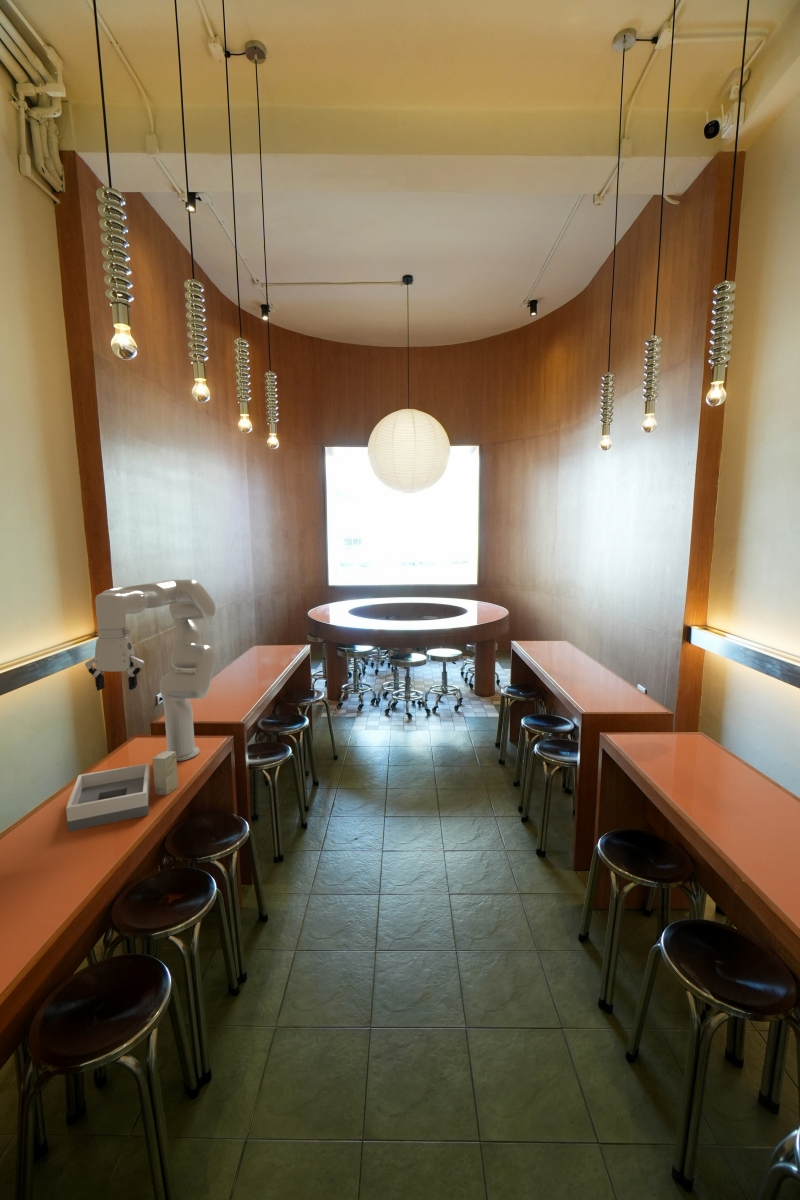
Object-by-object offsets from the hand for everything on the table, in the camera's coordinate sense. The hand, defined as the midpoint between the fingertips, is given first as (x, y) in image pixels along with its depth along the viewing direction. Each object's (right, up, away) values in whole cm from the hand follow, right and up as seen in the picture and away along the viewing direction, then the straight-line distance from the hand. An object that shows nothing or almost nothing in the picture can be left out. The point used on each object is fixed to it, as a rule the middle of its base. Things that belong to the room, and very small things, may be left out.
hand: (116, 688), depth 158 cm
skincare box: (+11, -35, +9) cm, 37 cm away
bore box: (-1, -36, 0) cm, 35 cm away
